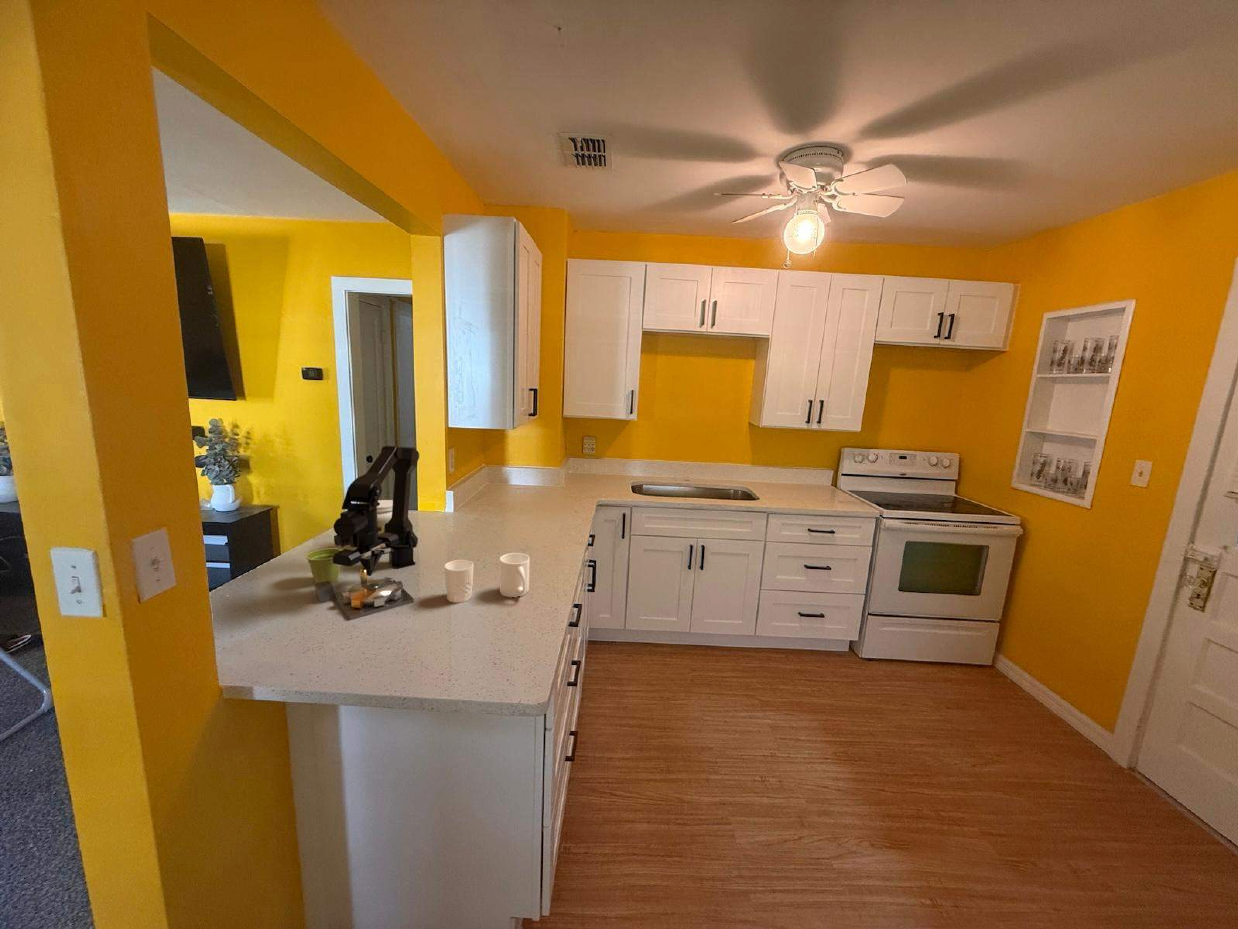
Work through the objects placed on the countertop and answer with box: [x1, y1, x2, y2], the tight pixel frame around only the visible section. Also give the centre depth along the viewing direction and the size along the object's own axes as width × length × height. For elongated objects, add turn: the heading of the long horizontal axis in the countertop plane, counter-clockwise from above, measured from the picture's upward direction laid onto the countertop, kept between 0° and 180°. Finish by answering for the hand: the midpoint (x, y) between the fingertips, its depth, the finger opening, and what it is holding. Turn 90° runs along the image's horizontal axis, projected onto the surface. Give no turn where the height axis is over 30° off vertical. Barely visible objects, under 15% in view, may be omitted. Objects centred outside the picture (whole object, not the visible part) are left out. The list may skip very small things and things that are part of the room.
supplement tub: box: [377, 499, 393, 554], centre depth 165 cm, size 12×12×17 cm
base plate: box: [334, 579, 415, 621], centre depth 129 cm, size 16×16×1 cm
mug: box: [499, 552, 531, 598], centre depth 136 cm, size 9×12×11 cm
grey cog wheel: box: [342, 567, 404, 608], centre depth 128 cm, size 15×15×6 cm
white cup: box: [444, 559, 475, 604], centre depth 132 cm, size 8×8×10 cm
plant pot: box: [305, 547, 343, 584], centre depth 138 cm, size 9×9×9 cm
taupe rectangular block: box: [314, 581, 335, 604], centre depth 128 cm, size 4×5×4 cm
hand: (369, 575), depth 134 cm, fingers closed
